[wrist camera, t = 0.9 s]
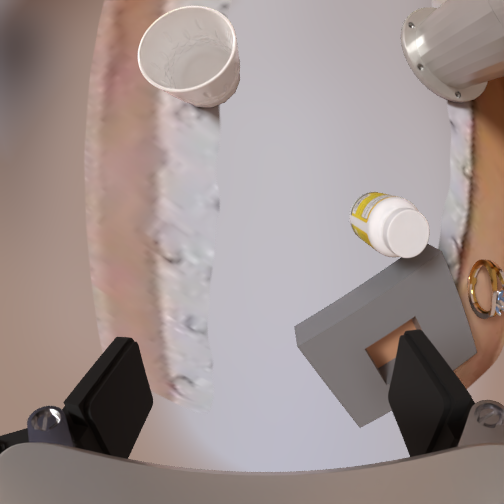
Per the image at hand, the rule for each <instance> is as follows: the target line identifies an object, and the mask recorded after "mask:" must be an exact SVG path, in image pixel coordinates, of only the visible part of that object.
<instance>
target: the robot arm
mask: <svg viewBox="0 0 504 504" xmlns="http://www.w3.org/2000/svg"><path fill="white" fill-rule="evenodd" d="M401 44H402V49H403V53H404V56H405V58H406V60H407V62H408V65H409V66H410V68H411V69H412V71H413V72H414V74H415V75H416V76H417V78H418V79H419V80H420V81H421V82H422V83H423V84H424V85H425V86H426V87H427V88H428V89H429V90H431V91H432V92H433V93H435V94H436V95H438V96H440V97H442V98H444V99H446V100H449V101H452V102H467V101H471V100H474V99H476V98H477V97H479V96H480V95H481V94H482V93H483V92H484V90H485V88H486V86H487V83H488V81H490V80H493V79H496V78H500V77H503V76H504V0H447V1H446V2H444V3H443V4H442V5H441V6H440V7H439V8H432V7H430V8H421V9H418V10H416V11H414V12H412V13H411V14H410V15H409V16H408V17H407V19H406V20H405V22H404V24H403V26H402V29H401ZM418 68H419V69H418ZM388 401H389V404H390V407H391V409H392V411H393V414H394V416H395V419H396V421H397V424H398V426H399V428H400V431H401V434H402V436H403V439H404V441H405V444H406V447H407V449H408V452H409V455H410V457H409V458H404V459H398V460H393V461H387V462H381V463H375V464H369V465H362V466H355V467H346V468H337V469H328V470H315V471H296V472H233V471H215V470H202V469H192V468H183V467H175V466H167V465H160V464H154V463H147V462H142V461H136V460H131V459H128V457H129V455H130V453H131V451H132V449H133V446H134V444H135V442H136V440H137V438H138V436H139V433H140V431H141V429H142V427H143V425H144V423H145V421H146V418H147V416H148V414H149V412H150V410H151V408H152V405H153V397H152V394H151V390H150V387H149V383H148V380H147V376H146V373H145V369H144V365H143V361H142V357H141V354H140V350H139V346H138V343H137V342H134V340H133V339H132V338H127V337H116V338H115V339H114V341H113V342H112V343H111V344H110V345H109V347H108V348H107V349H106V350H105V351H104V353H103V354H102V355H101V356H100V358H99V359H98V360H97V361H96V362H95V364H94V365H93V366H92V367H91V369H90V370H89V371H88V372H87V373H86V375H85V376H84V377H83V378H82V380H81V381H80V382H79V383H78V385H77V386H76V387H75V388H74V390H73V391H72V392H71V394H70V395H69V396H68V397H67V399H66V400H65V401H64V404H65V407H64V408H63V409H60V408H59V407H56V406H44V407H41V408H39V409H37V410H35V411H34V412H33V413H32V414H31V415H30V416H29V418H28V421H27V428H26V429H23V430H20V431H16V432H13V433H9V434H6V435H2V436H0V504H504V406H503V405H502V404H500V403H499V402H496V401H492V400H482V401H479V402H477V403H474V401H473V399H472V398H471V395H470V394H469V393H468V391H467V390H466V388H465V387H464V385H463V384H462V383H461V381H460V380H459V378H458V377H457V376H456V374H455V373H454V372H453V370H452V369H451V368H450V366H449V365H448V364H447V362H446V361H445V360H444V358H443V357H442V356H441V354H440V353H439V352H438V350H437V349H436V348H435V346H434V345H433V344H432V343H431V341H430V340H429V339H428V337H427V336H426V335H425V334H424V332H423V331H422V330H421V329H417V330H408V331H405V333H404V335H401V336H400V338H399V343H398V349H397V354H396V359H395V364H394V369H393V374H392V379H391V383H390V388H389V392H388Z"/></svg>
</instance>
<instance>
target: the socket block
mask: <svg viewBox="0 0 504 504" xmlns="http://www.w3.org/2000/svg"><path fill="white" fill-rule="evenodd" d="M417 329H421V330H422V331H423V332H424V334H425V335H426V336H427V337H428V339H429V340H430V341H431V343H432V344H433V345H434V346H435V348H436V349H437V350H438V352H439V353H440V354H441V356H442V357H443V358H444V360H445V361H446V362H447V364H448V365H449V366H450V368H451V369H452V370H455V369H456V368H457V367H459V366H460V365H461V364H463V363H464V362H465V361H467V360H468V359H469V358H471V357H472V356H473V355H474V354H476V353H477V350H476V347H475V343H474V340H473V337H472V333H471V330H470V327H469V324H468V320H467V317H466V314H465V311H464V308H463V305H462V303H461V300H460V297H459V294H458V291H457V289H456V286H455V283H454V281H453V278H452V276H451V273H450V271H449V268H448V266H447V263H446V261H445V258H444V256H443V253H442V251H440V250H438V249H436V248H434V247H433V246H431V245H429V244H427V245H426V247H425V248H424V250H423V251H422V252H421V253H419V254H418V255H416V256H414V257H411V258H402V257H401V258H400V259H398V260H397V261H396V262H394V263H393V264H391V265H390V266H388V267H387V268H386V269H384V270H382V271H381V272H380V273H378V274H377V275H375V276H374V277H372V278H371V279H369V280H368V281H366V282H365V283H363V284H362V285H360V286H359V287H357V288H356V289H354V290H352V291H351V292H349V293H348V294H346V295H345V296H343V297H342V298H340V299H338V300H337V301H335V302H334V303H332V304H330V305H329V306H327V307H326V308H324V309H322V310H321V311H319V312H318V313H316V314H314V315H313V316H311V317H309V318H308V319H306V320H304V321H303V322H301V323H299V324H298V325H296V326H295V334H296V341H297V346H298V348H299V349H300V351H301V352H302V353H303V355H304V356H305V357H306V359H307V360H308V361H309V362H310V364H311V365H312V366H313V368H314V369H315V370H316V372H317V373H318V374H319V376H320V377H321V378H322V379H323V381H324V382H325V383H326V385H327V386H328V387H329V389H330V390H331V391H332V392H333V394H334V395H335V396H336V398H337V399H338V400H339V402H340V403H341V404H342V406H343V407H344V408H345V409H346V411H347V412H348V413H349V415H350V416H351V417H352V418H353V420H354V421H355V422H356V423H357V425H358V426H359V427H362V426H364V425H366V424H368V423H370V422H372V421H374V420H376V419H377V418H379V417H381V416H383V415H385V414H386V413H388V412H390V411H392V409H391V407H390V404H389V401H388V392H389V388H390V383H391V379H392V374H393V369H394V364H395V359H396V354H397V349H398V343H399V338H400V336H401V335H404V333H405V331H408V330H417Z"/></svg>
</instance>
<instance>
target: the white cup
mask: <svg viewBox="0 0 504 504" xmlns="http://www.w3.org/2000/svg"><path fill="white" fill-rule="evenodd" d="M138 63H139V67H140V70H141V72H142V74H143V75H144V77H145V78H146V79H147V80H148V81H149V82H150V83H151V84H152V85H154V86H155V87H157V88H159V89H161V90H163V91H165V92H167V93H169V94H170V95H172V96H174V97H176V98H178V99H180V100H182V101H184V102H187V103H191V104H192V105H194V106H196V107H214V106H216V105H219V104H221V103H225V102H226V101H227V100H228V99H229V98H230V97H231V96H232V95H233V94H234V93H235V92H236V89H237V86H238V84H239V81H240V74H239V71H240V60H239V54H238V46H237V38H236V33H235V30H234V28H233V26H232V24H231V22H230V21H229V20H228V19H227V18H226V17H225V16H224V15H223V14H221V13H220V12H218V11H216V10H214V9H211V8H208V7H203V6H186V7H181V8H178V9H175V10H172V11H170V12H168V13H166V14H164V15H163V16H161V17H160V18H158V19H157V20H156V21H155V22H154V23H153V24H152V25H151V26H150V27H149V28H148V29H147V31H146V32H145V34H144V36H143V37H142V40H141V42H140V45H139V49H138Z"/></svg>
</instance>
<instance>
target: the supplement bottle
mask: <svg viewBox="0 0 504 504" xmlns="http://www.w3.org/2000/svg"><path fill="white" fill-rule="evenodd" d="M350 224H351V227H352V229H353V231H354V232H355V234H356V235H357V236H358V237H359V238H360V239H362V240H363V241H365V242H366V243H367V244H368V245H370V246H371V247H372V248H374V249H375V250H376V251H378V252H379V253H381V254H383V255H385V256H388V257H402V258H411V257H414V256H416V255H418V254H419V253H421V252H422V251H423V250H424V248H425V247H426V245H427V243H428V240H429V233H430V229H429V224H428V222H427V220H426V218H425V217H424V216H423V215H422V214H421V213H420V212H419V211H418V210H417V208H416V207H415V206H414V205H413V204H412V203H411V202H409V201H408V200H406V199H403V198H401V197H396V196H392V195H387V194H383V193H378V192H371V193H366V194H364V195H362V196H361V197H359V198H358V199H357V200H356V201H355V202H354V204H353V206H352V208H351V211H350Z"/></svg>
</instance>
